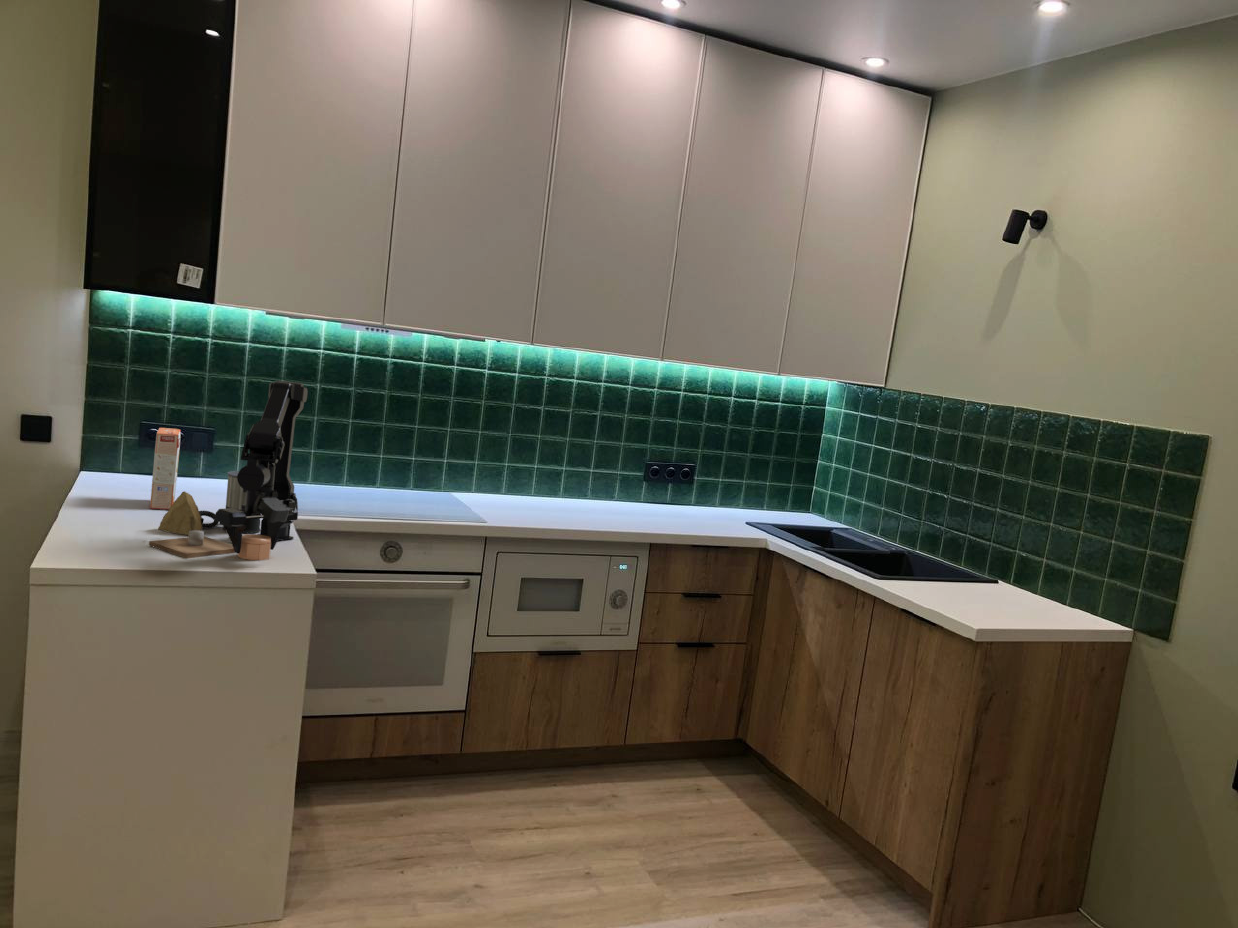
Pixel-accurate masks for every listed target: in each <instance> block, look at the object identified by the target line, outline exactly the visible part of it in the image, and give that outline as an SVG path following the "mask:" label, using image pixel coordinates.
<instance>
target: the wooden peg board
mask: <svg viewBox="0 0 1238 928" xmlns="http://www.w3.org/2000/svg"><path fill="white" fill-rule="evenodd" d="M149 545H151V546H150V547H152V546H154V547H153V548H155V547H157V548H156V549H158V548H160V549H159V550H161V549H162V550H161V551H164V550H165V551H164V552H167V553H170V554H173V555H176V556H179V557H182V558H184V559H191V558H200V557H210V556H218V555H225V554H236V553H235V550H234V548H233V545H232V544H230V543H227V542H223V541H221V540H218V539H213V538H212V537H211V538H210V537H209V536H205V531H203V530H202V531H198V530H192V531H189V535H188V536H187V537H178V538H170V539H169V538H167V539H166V538H165V539H157V540H149V542H148V546H149Z"/></svg>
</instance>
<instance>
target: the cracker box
mask: <svg viewBox="0 0 1238 928" xmlns="http://www.w3.org/2000/svg"><path fill="white" fill-rule="evenodd" d="M180 447H181V429H179V428H169V427H168V428H167V427H159V428H158V430H157V432H156V436H155V446H154V455H153V469H152V479H151V480H152V481H151V482H152V483H151V489H150V491H151V493H150V501H149V504H150V505H149V509H152V510H167V511H169V509H170V507H171V506H172V505H173V503H174V501H175V500H176V499H175V496H176V489H177V481H178V469H179V458H180V450H181V449H180Z"/></svg>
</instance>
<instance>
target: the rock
mask: <svg viewBox="0 0 1238 928" xmlns="http://www.w3.org/2000/svg"><path fill="white" fill-rule="evenodd" d="M199 511H200V509H199V507H198V505H197V504H196V501H195V500H194V498H193V495H191V494H190V493H189V492H186V491H182V492H181V493H180V495H178V497H177V498H176V499H174V503H173V505H172V506H171V507H170V509H169V510H167V512H166V513H165V514H164V515H163V518H162V519H161V521H160V523H159V526H158V528H157V530H161V531H164V532H166V531H167V533H171V532H172V534H177V533H178V534H179V535H185V536H186V535H187V536H189V531H192V530H198V531H203V528H202V524H201V517H202V516H200V514H199Z"/></svg>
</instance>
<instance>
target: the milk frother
mask: <svg viewBox="0 0 1238 928" xmlns="http://www.w3.org/2000/svg"><path fill="white" fill-rule="evenodd" d="M239 471H240V470H234V471H233V470H232V471H228V472H227V473H226V474H227V484H226V485H227V488H226V497H225V498H226V500H225V508H234V509H237V510H240V511H245V510H242V509H241V507H242V505H245V504H246V493H247V492H243V488H242V487H241V486H240V485H239V483H238V480H237V475H238V473H239ZM199 514H200V516H201V524H202V529H210V528H211V529H212V528H215V527H217V526H218V524H220V522H217V521H215V514H216V513H214V512H212V511H209V510H199ZM254 515H255V514H254ZM202 516H205V517H208V518H211V519H212V520H213V521H212V522H209V523H204V518H203V517H202ZM243 525H245V526H246V528H245V529H244V530H243V532H242V535H243V534H244V535H248V534H258V533H260V530H261V518H259V519H246V522H245V523H244V524H243ZM221 530H223V531H226V529H225V527H224V526H223V525H222V529H221ZM226 532H227V531H226Z"/></svg>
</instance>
